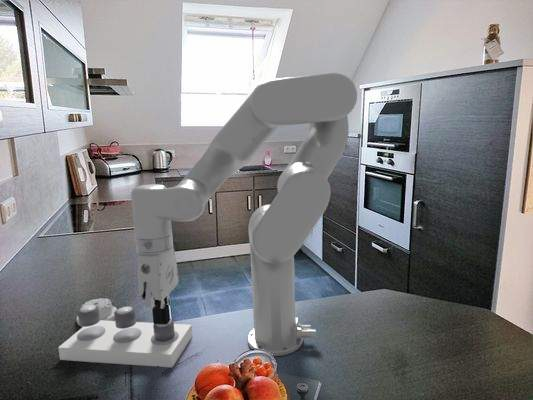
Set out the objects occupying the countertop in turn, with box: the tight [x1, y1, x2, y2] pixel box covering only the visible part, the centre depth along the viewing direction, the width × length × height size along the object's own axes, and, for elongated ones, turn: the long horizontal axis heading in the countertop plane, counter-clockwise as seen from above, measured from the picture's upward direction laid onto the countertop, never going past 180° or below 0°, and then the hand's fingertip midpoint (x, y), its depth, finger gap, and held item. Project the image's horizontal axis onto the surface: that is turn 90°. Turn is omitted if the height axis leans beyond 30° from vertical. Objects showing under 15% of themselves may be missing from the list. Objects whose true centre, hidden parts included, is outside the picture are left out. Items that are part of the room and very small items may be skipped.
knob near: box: [153, 318, 175, 341], centre depth 85 cm, size 4×4×3 cm
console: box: [58, 320, 193, 368], centre depth 87 cm, size 26×12×3 cm, turn 81°
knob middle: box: [114, 306, 137, 329], centre depth 86 cm, size 4×4×3 cm
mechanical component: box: [76, 297, 118, 328], centre depth 102 cm, size 10×4×10 cm
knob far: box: [77, 305, 100, 327], centre depth 88 cm, size 4×4×3 cm
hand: (161, 322), depth 85 cm, fingers closed
